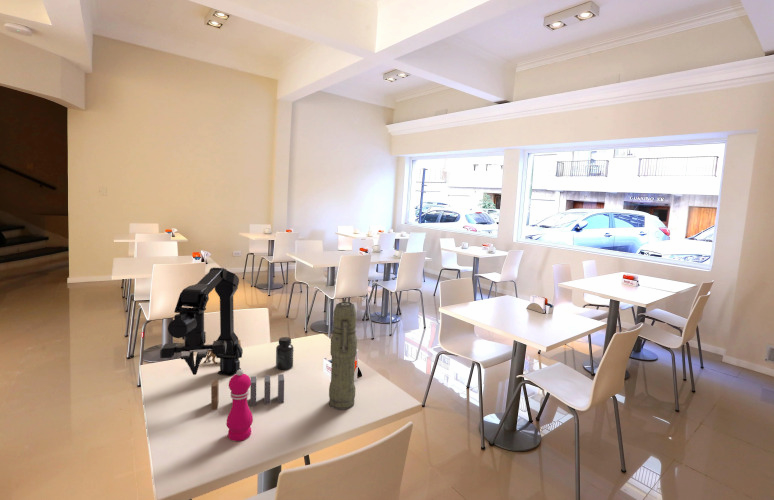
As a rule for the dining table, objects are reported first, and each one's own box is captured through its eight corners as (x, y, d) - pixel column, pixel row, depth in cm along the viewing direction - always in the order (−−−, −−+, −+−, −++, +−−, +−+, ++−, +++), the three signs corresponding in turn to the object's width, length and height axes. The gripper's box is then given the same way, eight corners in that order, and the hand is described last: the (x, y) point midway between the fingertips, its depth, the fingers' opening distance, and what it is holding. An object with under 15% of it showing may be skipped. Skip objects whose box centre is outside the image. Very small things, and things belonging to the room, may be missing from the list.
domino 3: (264, 404, 137) (264, 381, 136) (264, 397, 142) (264, 375, 141) (270, 404, 138) (270, 381, 137) (269, 397, 143) (269, 375, 142)
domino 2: (250, 405, 136) (250, 383, 135) (250, 398, 141) (250, 376, 140) (256, 405, 137) (256, 382, 136) (256, 398, 141) (256, 376, 140)
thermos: (351, 393, 148) (355, 299, 143) (357, 410, 136) (361, 308, 132) (327, 395, 145) (329, 299, 141) (330, 412, 134) (334, 308, 130)
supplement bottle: (285, 362, 173) (285, 334, 171) (296, 366, 169) (297, 338, 167) (272, 367, 167) (272, 339, 166) (283, 372, 163) (283, 343, 162)
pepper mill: (230, 428, 123) (230, 364, 120) (255, 428, 123) (255, 364, 121) (223, 442, 115) (222, 374, 113) (249, 442, 116) (249, 375, 114)
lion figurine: (239, 356, 177) (239, 336, 176) (241, 361, 172) (241, 340, 171) (202, 361, 169) (202, 341, 168) (203, 366, 165) (203, 345, 164)
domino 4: (278, 403, 139) (278, 380, 138) (277, 396, 143) (278, 374, 142) (283, 402, 139) (284, 380, 138) (283, 395, 144) (283, 374, 143)
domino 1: (211, 409, 132) (211, 386, 132) (212, 402, 137) (212, 379, 136) (217, 409, 133) (217, 385, 132) (218, 401, 138) (218, 379, 137)
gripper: (227, 318, 140) (227, 362, 142) (166, 321, 135) (167, 366, 137) (225, 329, 130) (225, 375, 132) (159, 332, 124) (160, 381, 126)
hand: (194, 374), depth 132 cm, fingers closed
